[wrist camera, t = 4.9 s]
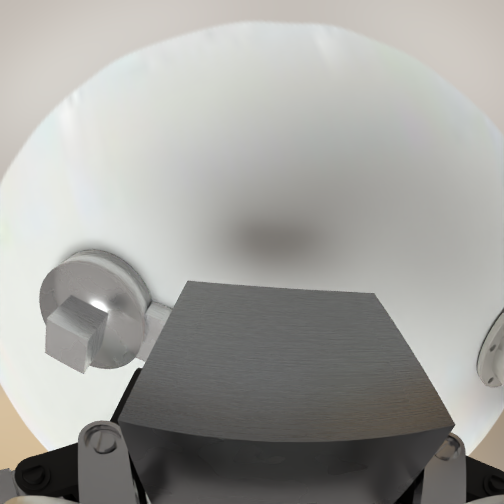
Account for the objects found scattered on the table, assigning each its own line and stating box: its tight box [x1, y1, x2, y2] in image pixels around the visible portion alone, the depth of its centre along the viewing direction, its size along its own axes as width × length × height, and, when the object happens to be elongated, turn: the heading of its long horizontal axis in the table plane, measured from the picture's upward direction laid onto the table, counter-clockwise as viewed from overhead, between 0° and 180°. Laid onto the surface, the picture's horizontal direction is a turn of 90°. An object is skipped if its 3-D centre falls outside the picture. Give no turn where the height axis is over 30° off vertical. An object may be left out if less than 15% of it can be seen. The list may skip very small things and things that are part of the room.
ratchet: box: [40, 250, 172, 374], centre depth 21 cm, size 22×9×6 cm, turn 66°
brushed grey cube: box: [118, 281, 455, 504], centre depth 8 cm, size 6×6×6 cm
